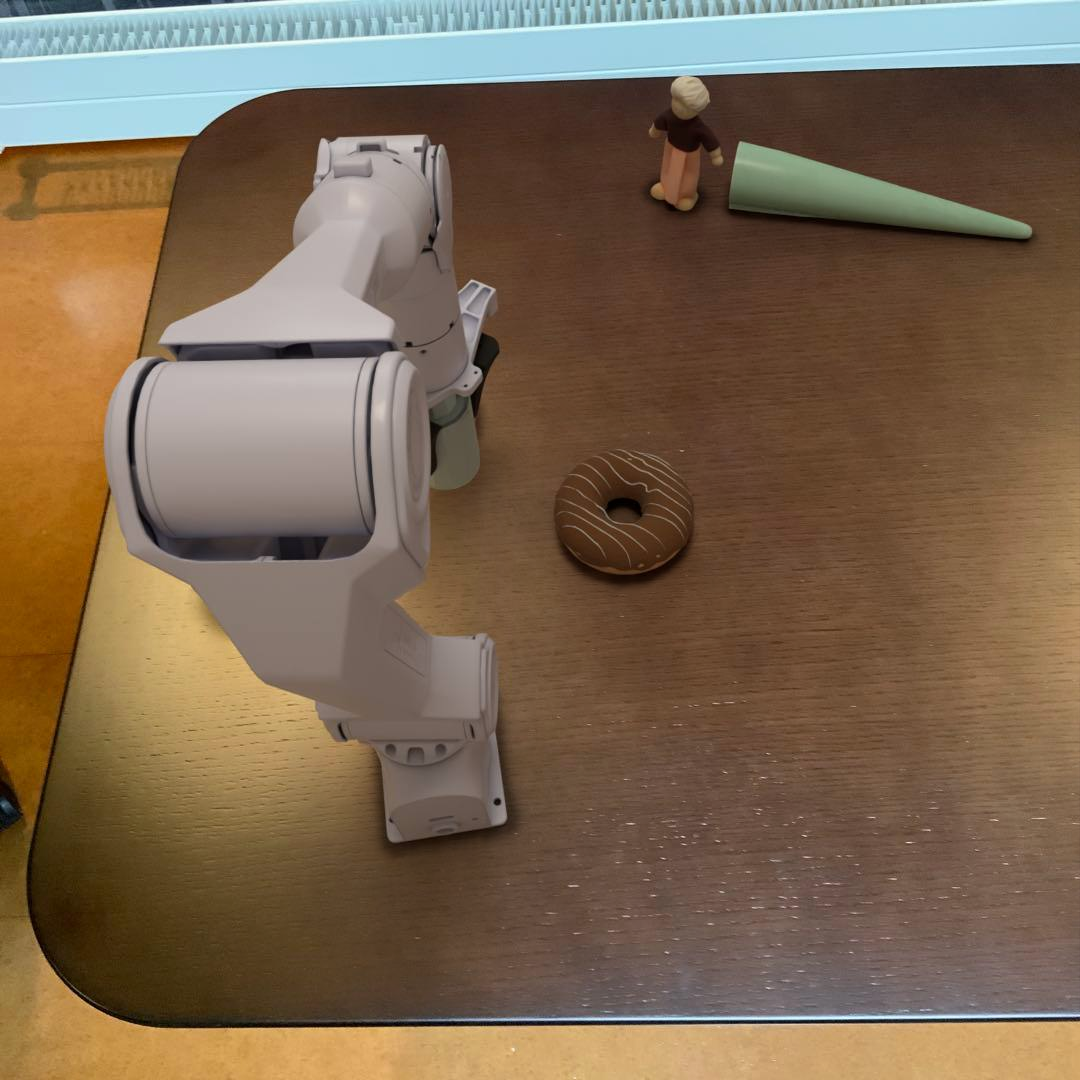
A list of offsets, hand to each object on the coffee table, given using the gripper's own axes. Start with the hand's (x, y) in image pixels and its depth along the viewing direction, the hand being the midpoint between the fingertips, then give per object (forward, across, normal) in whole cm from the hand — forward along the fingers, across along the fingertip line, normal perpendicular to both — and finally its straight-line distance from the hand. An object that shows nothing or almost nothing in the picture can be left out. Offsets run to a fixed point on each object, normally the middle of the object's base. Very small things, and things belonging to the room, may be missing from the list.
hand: (442, 440), depth 75 cm
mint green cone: (+9, +45, -17) cm, 49 cm away
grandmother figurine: (+9, +38, 0) cm, 39 cm away
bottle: (+3, 0, 0) cm, 3 cm away
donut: (+9, +5, -12) cm, 16 cm away
